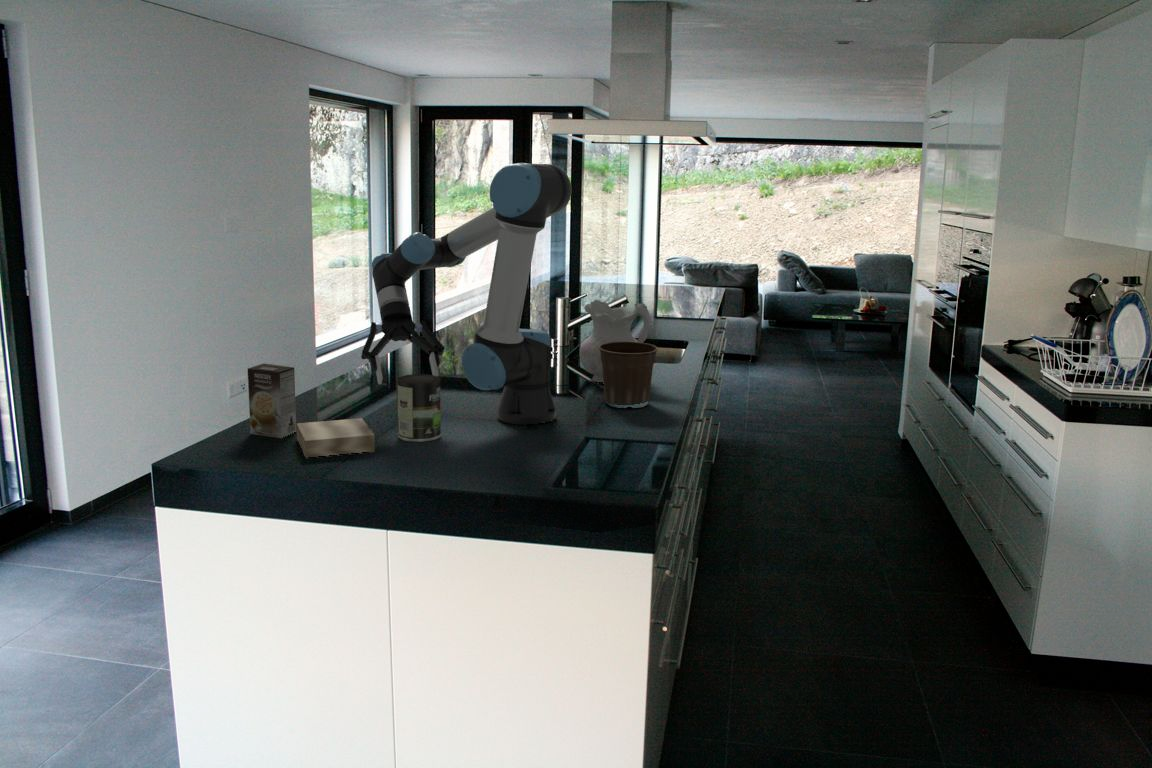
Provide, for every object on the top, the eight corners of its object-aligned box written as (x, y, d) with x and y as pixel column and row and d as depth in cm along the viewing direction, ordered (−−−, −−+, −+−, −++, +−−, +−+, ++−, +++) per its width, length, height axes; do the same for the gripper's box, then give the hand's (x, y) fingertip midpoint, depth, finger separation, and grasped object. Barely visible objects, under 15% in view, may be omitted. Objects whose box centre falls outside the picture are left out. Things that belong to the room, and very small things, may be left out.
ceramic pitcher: (653, 381, 295) (657, 301, 291) (644, 390, 276) (648, 304, 272) (586, 376, 300) (589, 297, 296) (571, 385, 281) (574, 301, 277)
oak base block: (362, 434, 226) (361, 418, 225) (374, 451, 212) (374, 434, 211) (297, 440, 220) (296, 423, 219) (305, 458, 207) (305, 440, 206)
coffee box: (248, 434, 224) (245, 368, 220) (266, 427, 229) (262, 363, 226) (281, 439, 221) (278, 371, 217) (298, 432, 227) (295, 366, 223)
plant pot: (639, 414, 250) (641, 355, 246) (586, 406, 258) (587, 348, 254) (665, 402, 264) (667, 345, 260) (613, 394, 272) (615, 339, 268)
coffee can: (447, 432, 230) (446, 375, 226) (432, 443, 220) (431, 384, 217) (407, 428, 232) (406, 372, 228) (390, 440, 222) (389, 381, 219)
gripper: (440, 315, 246) (455, 384, 236) (342, 319, 237) (354, 391, 227) (445, 298, 240) (461, 368, 230) (345, 301, 231) (358, 374, 221)
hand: (408, 379), depth 229 cm, fingers open, 13 cm apart
